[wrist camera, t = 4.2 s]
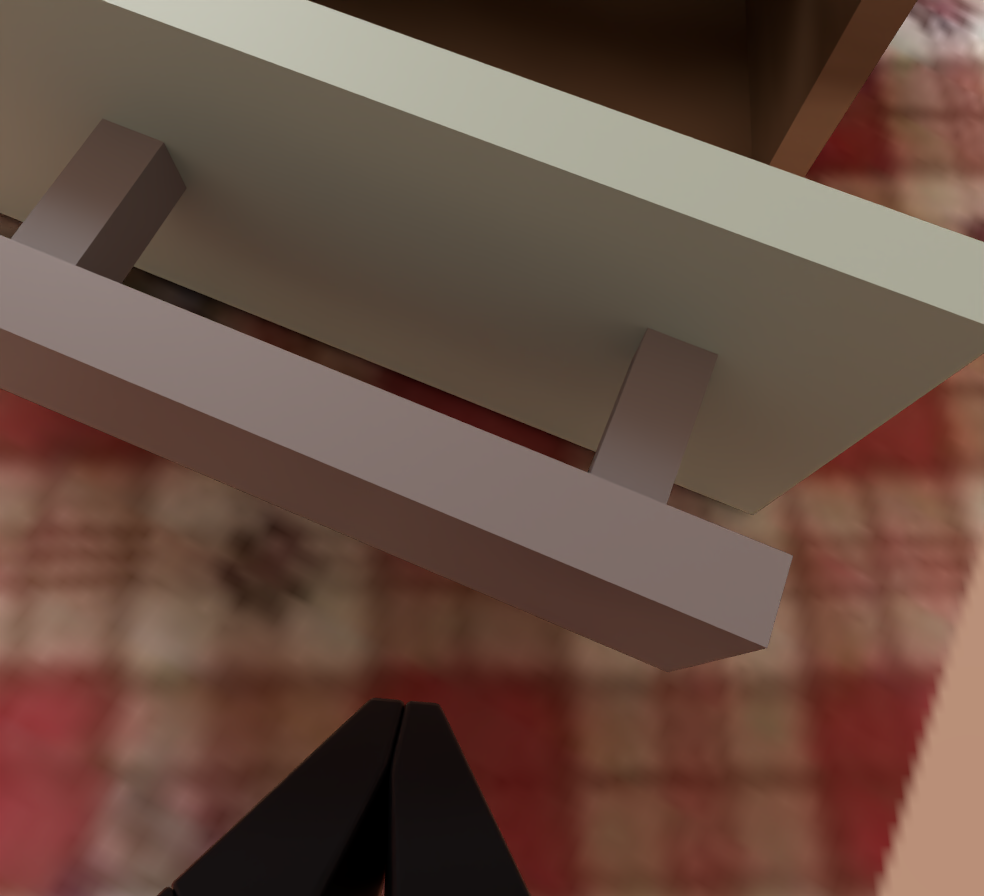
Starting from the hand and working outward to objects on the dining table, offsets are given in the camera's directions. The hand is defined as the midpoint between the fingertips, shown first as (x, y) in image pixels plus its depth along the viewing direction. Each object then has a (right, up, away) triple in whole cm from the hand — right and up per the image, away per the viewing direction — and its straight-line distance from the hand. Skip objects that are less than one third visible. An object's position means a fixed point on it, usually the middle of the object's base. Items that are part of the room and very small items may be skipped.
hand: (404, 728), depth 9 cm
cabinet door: (-4, +5, +9) cm, 11 cm away
